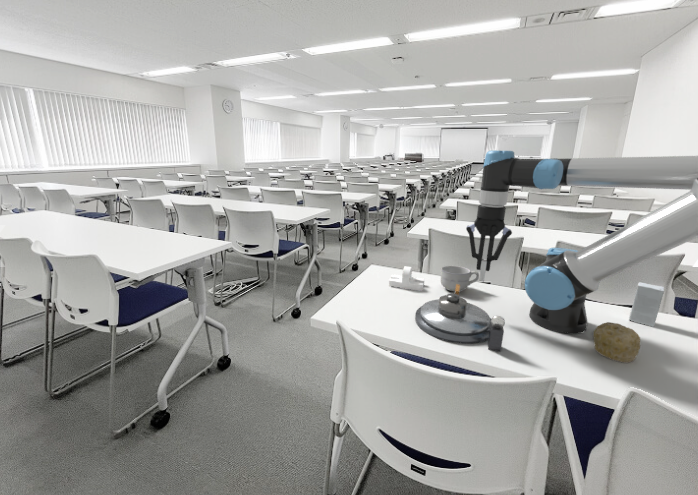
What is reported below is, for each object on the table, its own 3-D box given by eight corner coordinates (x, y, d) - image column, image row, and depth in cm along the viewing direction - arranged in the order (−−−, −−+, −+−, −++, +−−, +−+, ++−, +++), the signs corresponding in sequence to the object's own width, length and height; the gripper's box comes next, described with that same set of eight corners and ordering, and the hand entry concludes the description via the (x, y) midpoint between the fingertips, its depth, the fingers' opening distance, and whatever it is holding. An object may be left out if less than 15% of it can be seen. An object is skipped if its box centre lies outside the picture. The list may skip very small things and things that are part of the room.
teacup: (437, 291, 123) (439, 271, 121) (441, 281, 133) (442, 262, 130) (476, 297, 118) (479, 276, 116) (477, 287, 128) (480, 267, 125)
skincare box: (654, 322, 102) (664, 286, 99) (653, 327, 99) (664, 291, 96) (629, 316, 106) (638, 281, 103) (627, 320, 103) (637, 285, 100)
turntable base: (492, 312, 107) (492, 309, 106) (496, 351, 86) (497, 346, 85) (421, 301, 114) (421, 297, 114) (408, 333, 93) (409, 329, 93)
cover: (465, 309, 102) (467, 292, 100) (465, 320, 95) (467, 303, 93) (439, 305, 104) (440, 288, 103) (437, 316, 97) (438, 299, 96)
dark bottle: (500, 345, 88) (505, 315, 86) (500, 351, 85) (506, 320, 83) (487, 343, 89) (491, 312, 87) (487, 349, 86) (492, 318, 84)
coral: (645, 360, 83) (653, 333, 81) (618, 366, 80) (626, 339, 78) (608, 341, 91) (614, 316, 89) (583, 346, 89) (589, 320, 87)
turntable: (488, 308, 107) (490, 289, 105) (490, 341, 87) (494, 319, 85) (425, 298, 113) (427, 280, 111) (415, 327, 94) (417, 306, 92)
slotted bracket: (388, 286, 127) (389, 267, 125) (391, 280, 133) (392, 262, 131) (421, 291, 123) (423, 272, 121) (424, 285, 129) (425, 266, 127)
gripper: (515, 204, 97) (503, 278, 104) (468, 201, 102) (460, 272, 108) (518, 208, 91) (504, 287, 97) (468, 205, 95) (459, 280, 102)
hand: (481, 279), depth 103 cm, fingers closed
